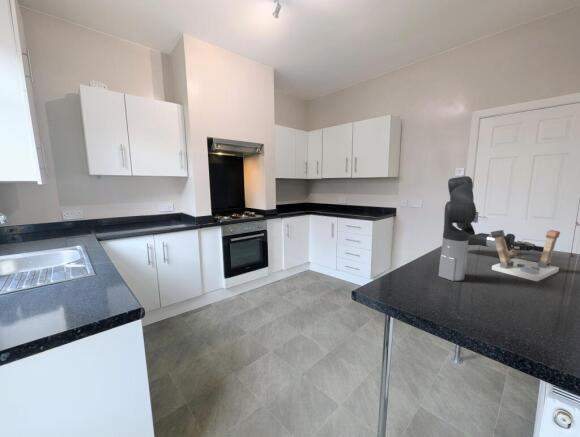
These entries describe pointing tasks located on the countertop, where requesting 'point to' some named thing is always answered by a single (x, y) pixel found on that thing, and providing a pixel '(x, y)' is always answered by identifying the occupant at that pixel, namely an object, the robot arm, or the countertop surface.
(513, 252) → the figurine
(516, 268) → the panel
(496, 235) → the tan wooden post
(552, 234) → the brown long rectangular block
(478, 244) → the robot arm
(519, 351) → the countertop surface
